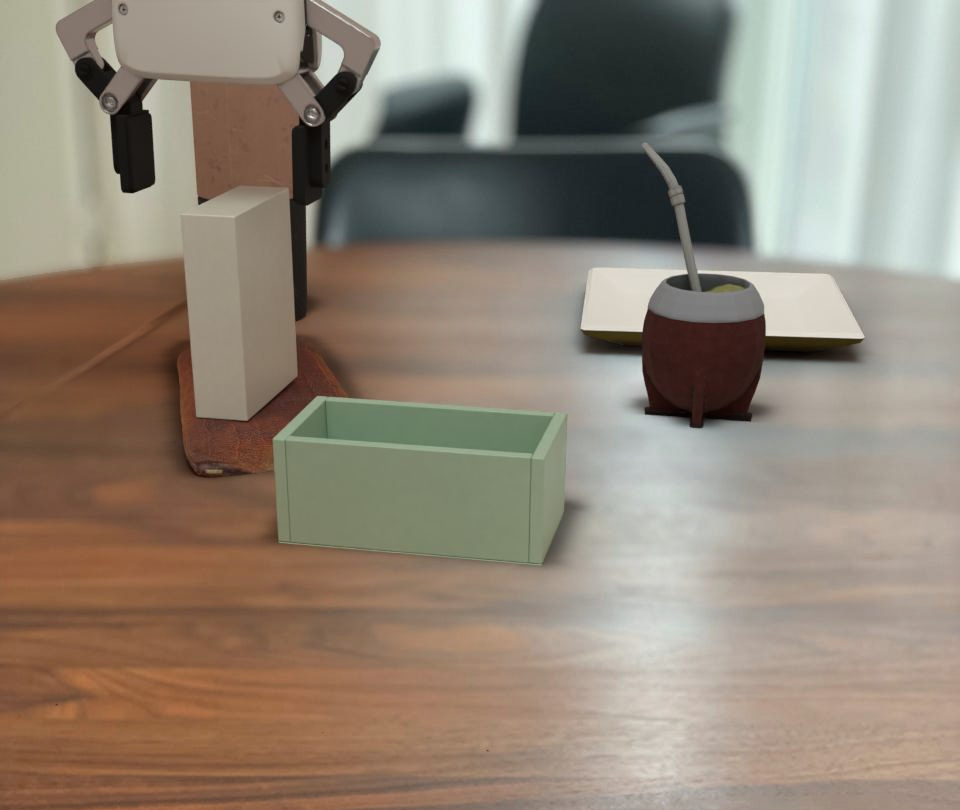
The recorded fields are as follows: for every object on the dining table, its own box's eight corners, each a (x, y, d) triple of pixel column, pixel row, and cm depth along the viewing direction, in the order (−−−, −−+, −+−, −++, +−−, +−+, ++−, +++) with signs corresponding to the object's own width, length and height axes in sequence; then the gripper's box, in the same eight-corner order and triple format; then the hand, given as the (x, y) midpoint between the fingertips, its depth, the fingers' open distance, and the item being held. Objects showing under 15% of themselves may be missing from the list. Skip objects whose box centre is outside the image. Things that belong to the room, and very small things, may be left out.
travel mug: (211, 329, 106) (188, 25, 97) (201, 304, 113) (180, 17, 104) (318, 323, 108) (305, 24, 99) (303, 299, 114) (290, 16, 106)
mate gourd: (757, 441, 85) (783, 166, 78) (618, 432, 86) (632, 160, 79) (757, 402, 91) (781, 146, 85) (628, 395, 92) (642, 141, 86)
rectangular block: (250, 373, 90) (238, 185, 86) (298, 376, 90) (289, 187, 85) (195, 417, 82) (179, 213, 78) (247, 421, 82) (234, 216, 77)
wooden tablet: (380, 478, 79) (379, 448, 78) (187, 490, 77) (184, 459, 76) (323, 345, 102) (322, 321, 102) (174, 352, 100) (172, 327, 100)
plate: (587, 293, 117) (588, 266, 116) (830, 300, 116) (833, 273, 115) (579, 356, 100) (580, 326, 99) (862, 365, 99) (866, 335, 98)
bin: (278, 551, 70) (272, 438, 67) (321, 501, 76) (316, 395, 73) (541, 574, 67) (544, 458, 65) (563, 520, 73) (567, 412, 71)
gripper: (397, -154, 75) (395, 195, 83) (77, -163, 78) (102, 175, 86) (357, -163, 69) (358, 218, 76) (8, -172, 72) (42, 195, 79)
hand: (222, 195), depth 81 cm, fingers open, 9 cm apart
